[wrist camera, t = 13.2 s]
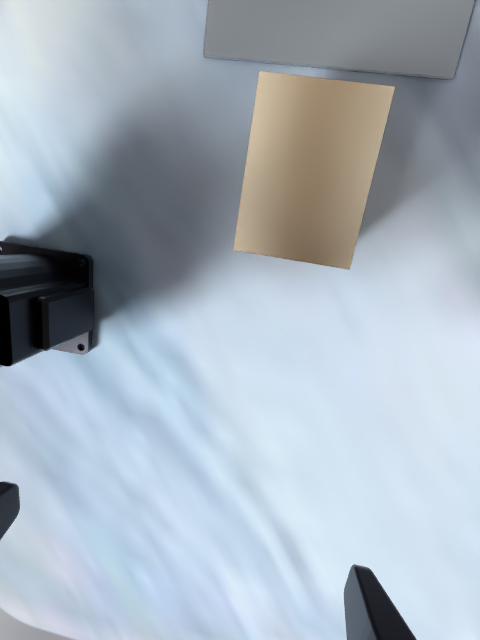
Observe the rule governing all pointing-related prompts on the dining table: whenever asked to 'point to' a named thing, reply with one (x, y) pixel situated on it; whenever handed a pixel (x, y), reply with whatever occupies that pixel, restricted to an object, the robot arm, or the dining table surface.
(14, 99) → the dining table surface
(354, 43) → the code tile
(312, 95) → the maple block
